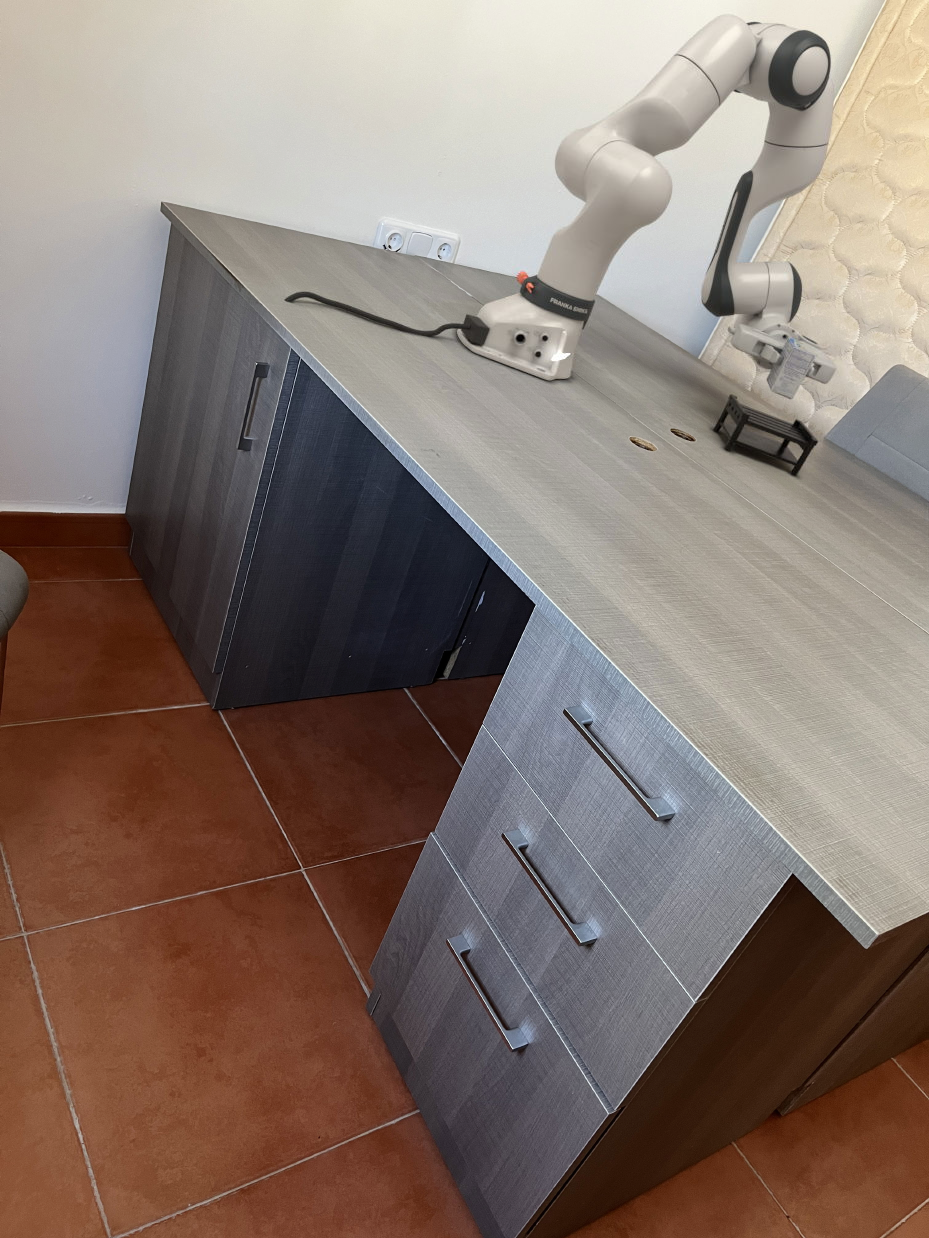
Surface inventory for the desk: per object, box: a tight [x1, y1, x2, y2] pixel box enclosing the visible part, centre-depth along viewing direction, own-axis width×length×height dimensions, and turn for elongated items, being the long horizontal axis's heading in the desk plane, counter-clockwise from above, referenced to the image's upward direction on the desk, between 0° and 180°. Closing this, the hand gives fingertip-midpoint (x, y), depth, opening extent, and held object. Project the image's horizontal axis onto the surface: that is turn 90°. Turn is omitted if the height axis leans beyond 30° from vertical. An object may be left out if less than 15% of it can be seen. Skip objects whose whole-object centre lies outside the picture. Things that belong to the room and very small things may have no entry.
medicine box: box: [766, 338, 816, 400], centre depth 169 cm, size 8×4×9 cm, turn 169°
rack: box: [712, 394, 819, 477], centre depth 175 cm, size 15×11×7 cm
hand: (794, 366), depth 168 cm, fingers closed on medicine box, 5 cm apart
